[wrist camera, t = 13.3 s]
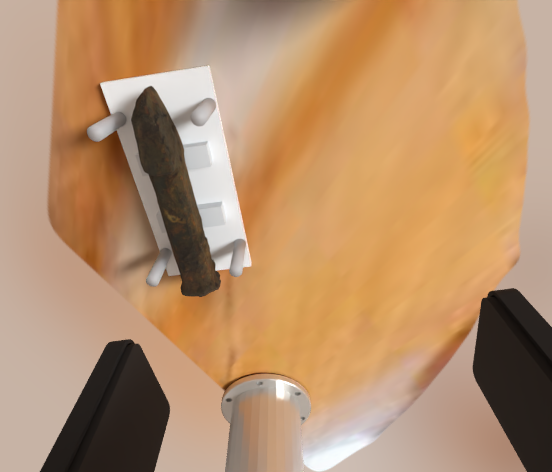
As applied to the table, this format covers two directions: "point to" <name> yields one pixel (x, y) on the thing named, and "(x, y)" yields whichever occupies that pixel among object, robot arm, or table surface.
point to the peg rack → (198, 157)
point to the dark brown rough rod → (174, 193)
